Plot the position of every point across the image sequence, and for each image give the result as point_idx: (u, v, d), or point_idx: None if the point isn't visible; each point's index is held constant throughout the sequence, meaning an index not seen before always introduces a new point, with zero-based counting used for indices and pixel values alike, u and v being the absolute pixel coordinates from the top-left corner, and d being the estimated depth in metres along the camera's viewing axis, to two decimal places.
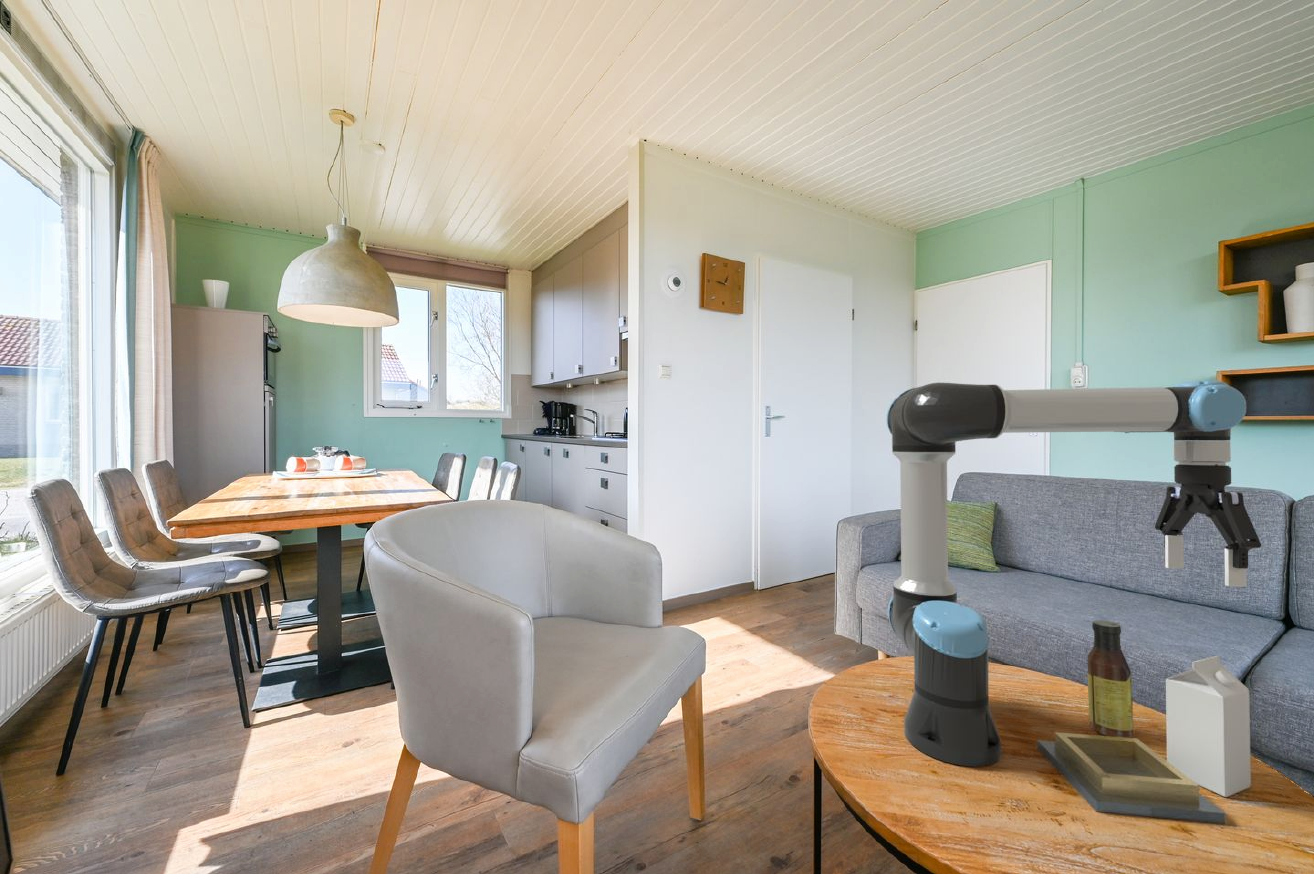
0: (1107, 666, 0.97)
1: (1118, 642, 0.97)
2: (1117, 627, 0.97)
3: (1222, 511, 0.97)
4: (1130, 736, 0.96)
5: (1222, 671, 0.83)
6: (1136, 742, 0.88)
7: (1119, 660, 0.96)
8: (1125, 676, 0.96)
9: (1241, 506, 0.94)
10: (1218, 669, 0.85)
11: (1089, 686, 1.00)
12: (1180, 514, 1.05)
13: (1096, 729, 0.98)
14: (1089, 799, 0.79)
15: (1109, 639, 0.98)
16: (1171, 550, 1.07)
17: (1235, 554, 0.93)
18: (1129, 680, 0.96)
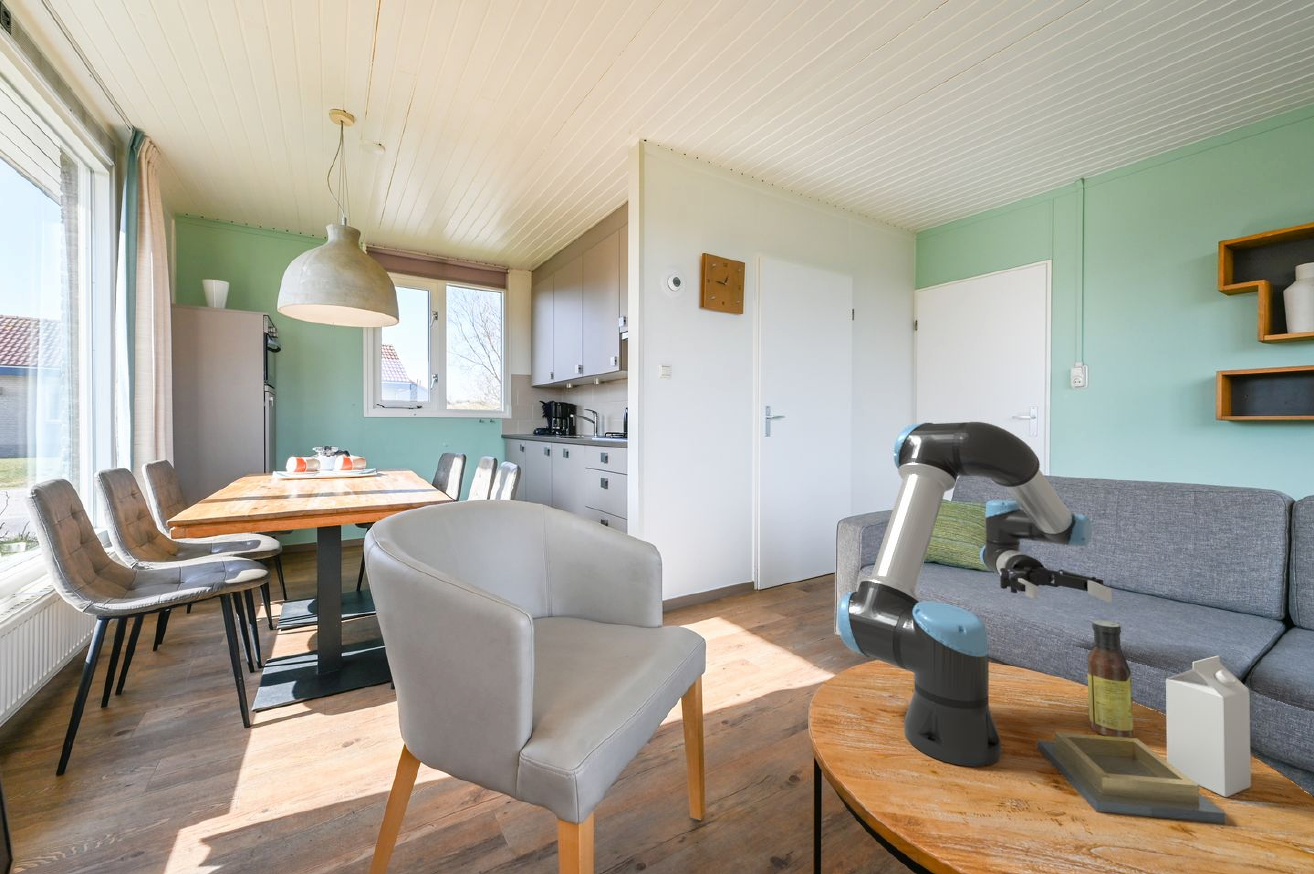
0: (1107, 666, 0.97)
1: (1118, 642, 0.97)
2: (1117, 627, 0.97)
3: None
4: (1130, 736, 0.96)
5: (1222, 671, 0.83)
6: (1136, 742, 0.88)
7: (1119, 660, 0.96)
8: (1125, 676, 0.96)
9: None
10: (1218, 669, 0.85)
11: (1089, 686, 1.00)
12: (1025, 575, 1.22)
13: (1096, 729, 0.98)
14: (1089, 799, 0.79)
15: (1109, 639, 0.98)
16: None
17: None
18: (1129, 680, 0.96)
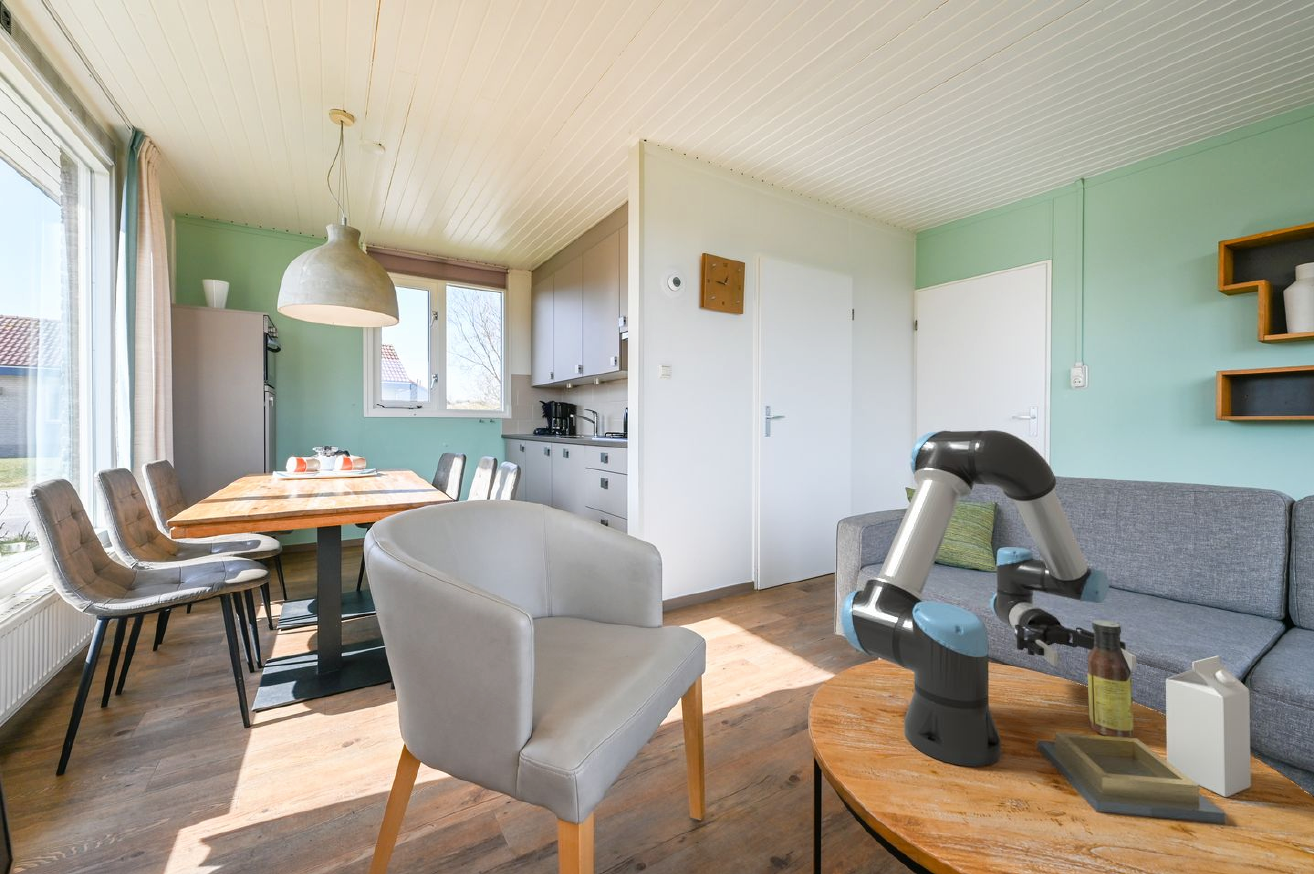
0: (1107, 666, 0.97)
1: (1118, 642, 0.97)
2: (1117, 627, 0.97)
3: None
4: (1130, 736, 0.96)
5: (1222, 671, 0.83)
6: (1136, 742, 0.88)
7: (1119, 660, 0.96)
8: (1125, 676, 0.96)
9: None
10: (1218, 669, 0.85)
11: (1089, 686, 1.00)
12: (1042, 634, 1.15)
13: (1096, 729, 0.98)
14: (1089, 799, 0.79)
15: (1109, 639, 0.98)
16: None
17: None
18: (1129, 680, 0.96)
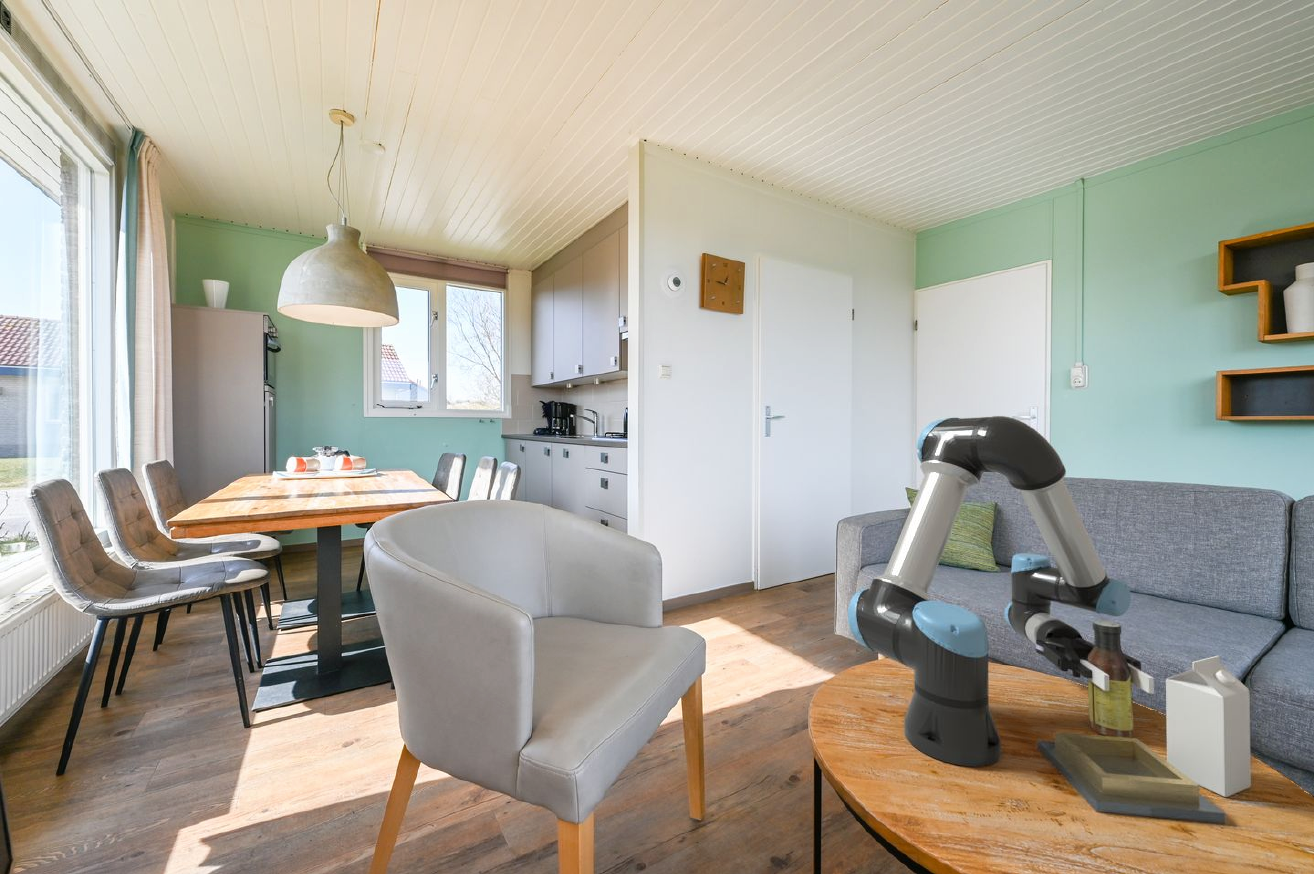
0: (1108, 666, 0.97)
1: (1118, 642, 0.97)
2: (1117, 627, 0.97)
3: None
4: (1130, 736, 0.96)
5: (1222, 671, 0.83)
6: (1136, 742, 0.88)
7: (1119, 660, 0.96)
8: (1125, 676, 0.96)
9: None
10: (1218, 669, 0.85)
11: (1089, 686, 1.00)
12: (1073, 650, 1.06)
13: (1096, 729, 0.98)
14: (1089, 799, 0.79)
15: (1109, 639, 0.97)
16: None
17: None
18: (1129, 680, 0.96)
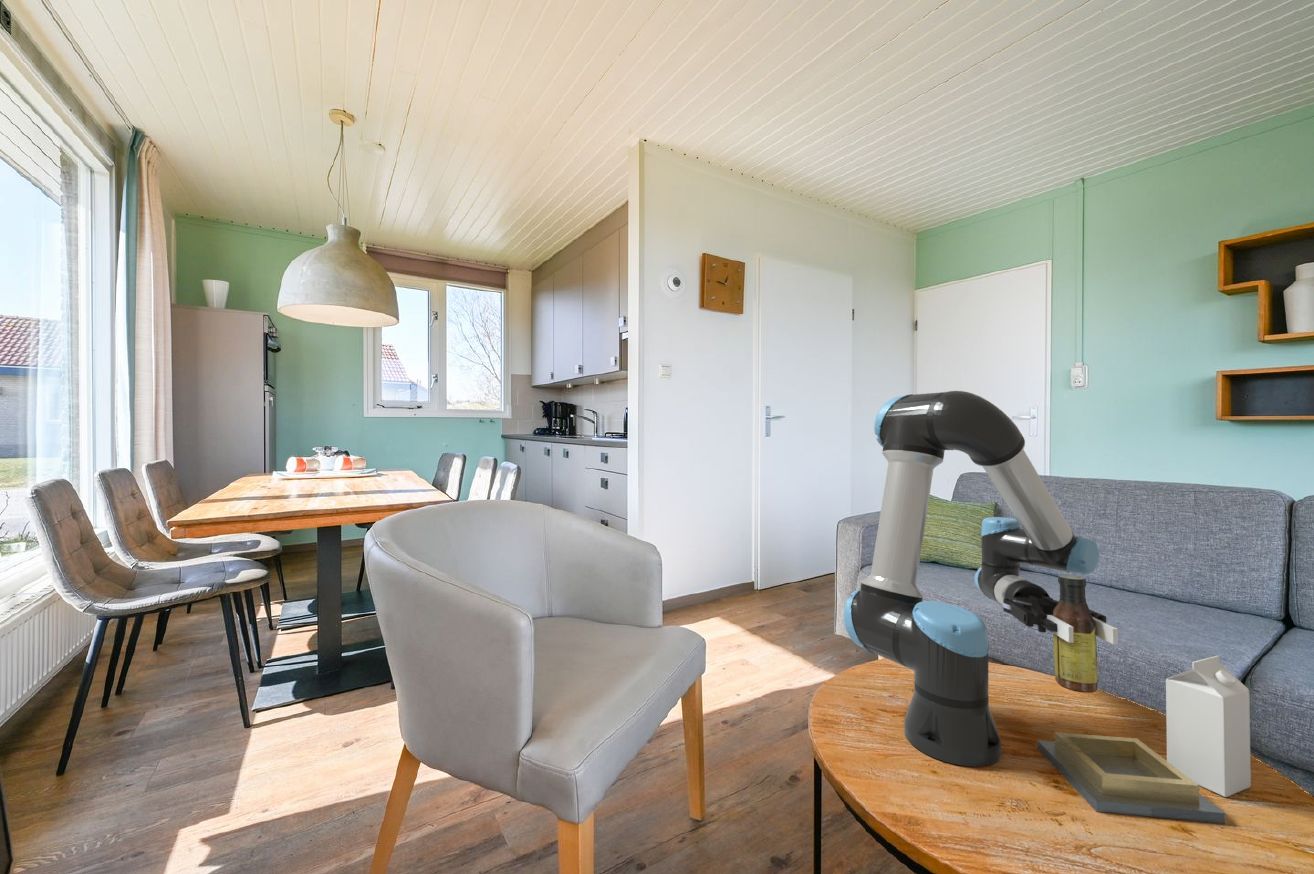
0: (1072, 619, 0.95)
1: (1083, 595, 0.96)
2: (1082, 579, 0.96)
3: None
4: (1094, 689, 0.94)
5: (1222, 671, 0.83)
6: (1136, 742, 0.88)
7: (1084, 612, 0.95)
8: (1090, 628, 0.95)
9: None
10: (1218, 669, 0.85)
11: (1054, 640, 0.98)
12: (1039, 607, 1.05)
13: (1060, 684, 0.97)
14: (1089, 799, 0.79)
15: (1074, 591, 0.96)
16: None
17: None
18: (1094, 632, 0.95)
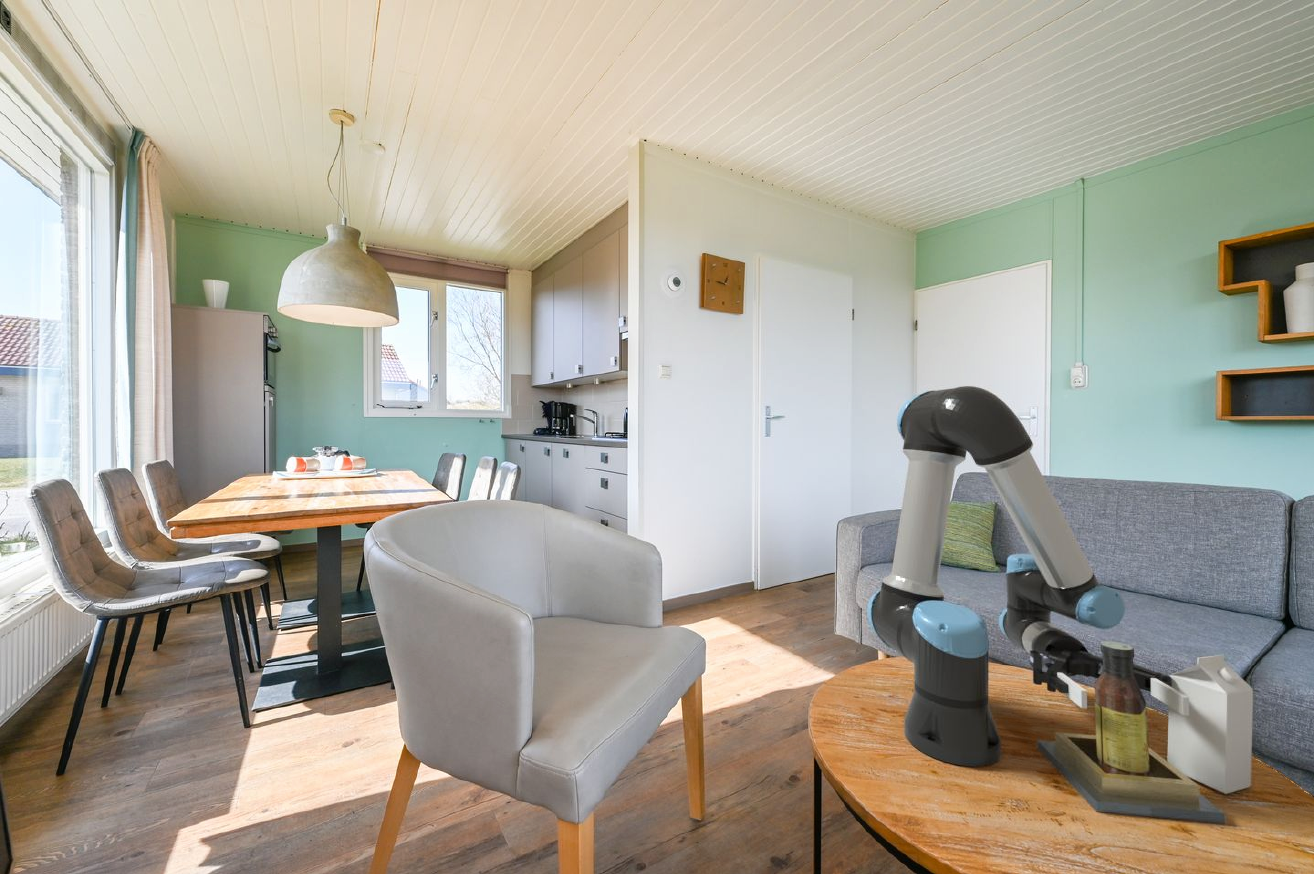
0: (1119, 697, 0.82)
1: (1131, 668, 0.83)
2: (1130, 650, 0.83)
3: None
4: None
5: (1227, 668, 0.83)
6: None
7: (1133, 689, 0.82)
8: (1140, 708, 0.81)
9: None
10: (1222, 667, 0.85)
11: (1097, 718, 0.85)
12: (1064, 664, 0.93)
13: (1104, 770, 0.84)
14: (1089, 799, 0.79)
15: (1120, 664, 0.83)
16: None
17: None
18: (1144, 713, 0.82)
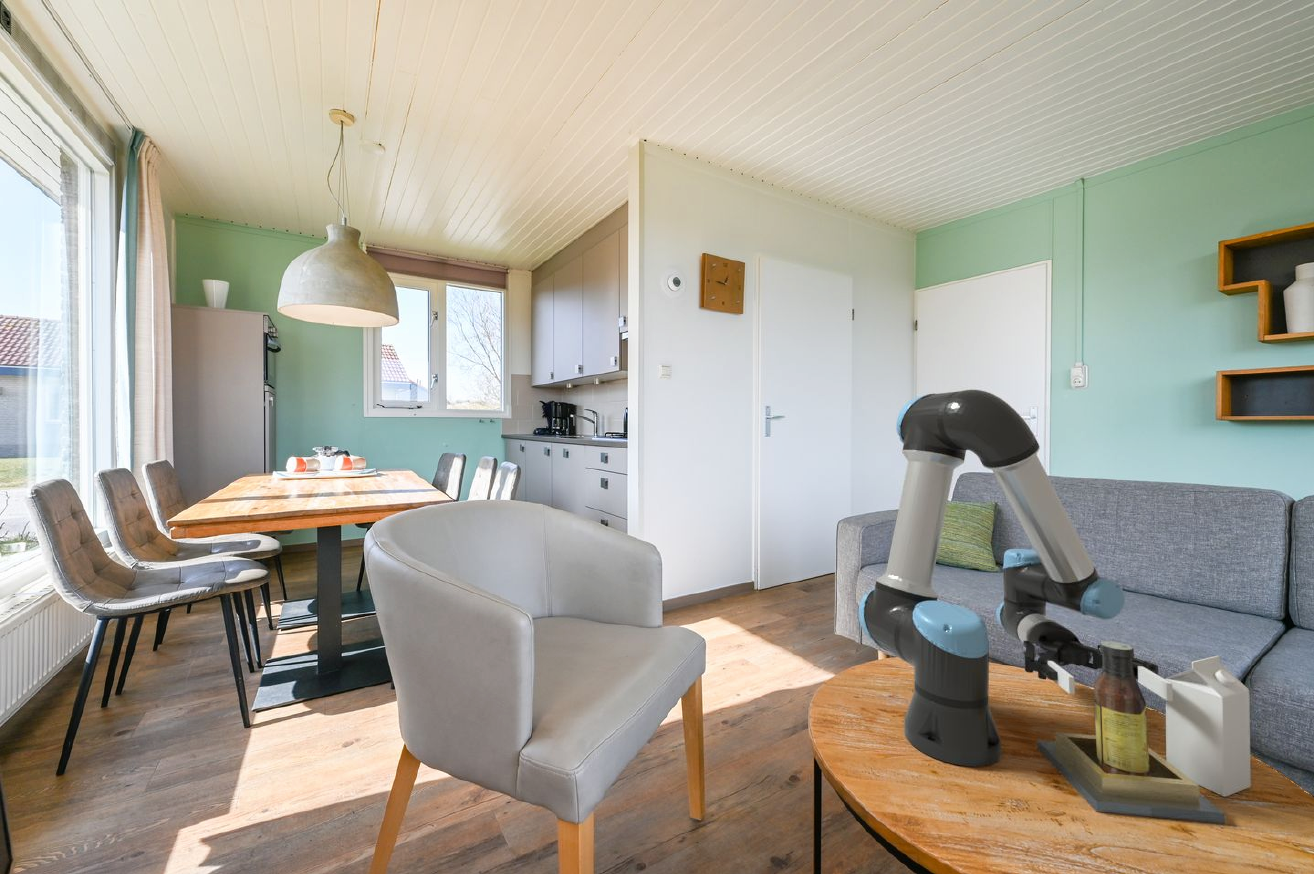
0: (1118, 697, 0.82)
1: (1131, 668, 0.83)
2: (1130, 650, 0.83)
3: None
4: None
5: (1222, 671, 0.83)
6: None
7: (1132, 689, 0.82)
8: (1140, 708, 0.81)
9: None
10: (1218, 669, 0.85)
11: (1097, 718, 0.85)
12: (1056, 653, 0.97)
13: (1104, 770, 0.84)
14: (1089, 799, 0.79)
15: (1120, 664, 0.83)
16: None
17: None
18: (1144, 713, 0.82)
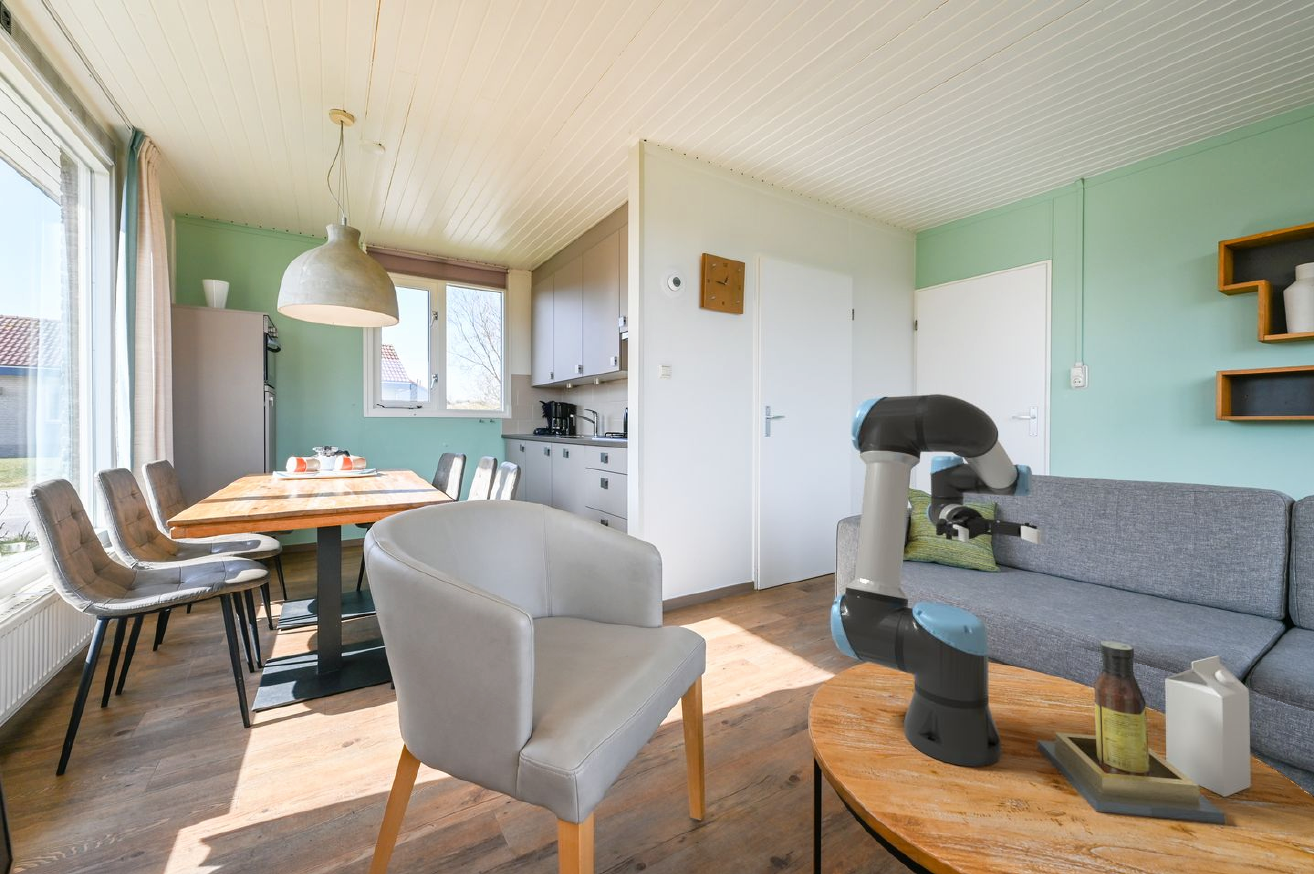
0: (1118, 697, 0.82)
1: (1131, 668, 0.83)
2: (1130, 650, 0.83)
3: None
4: None
5: (1222, 671, 0.83)
6: None
7: (1132, 689, 0.82)
8: (1140, 708, 0.81)
9: None
10: (1218, 669, 0.85)
11: (1097, 718, 0.85)
12: (961, 523, 1.21)
13: (1104, 770, 0.84)
14: (1089, 799, 0.79)
15: (1120, 664, 0.83)
16: None
17: None
18: (1144, 713, 0.82)
